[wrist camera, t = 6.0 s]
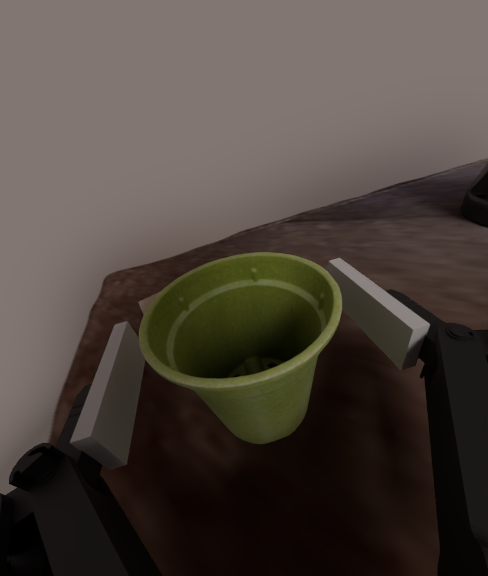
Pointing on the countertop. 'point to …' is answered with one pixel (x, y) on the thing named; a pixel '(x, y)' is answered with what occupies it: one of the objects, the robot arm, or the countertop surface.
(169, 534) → the countertop surface
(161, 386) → the countertop surface
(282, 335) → the plant pot
